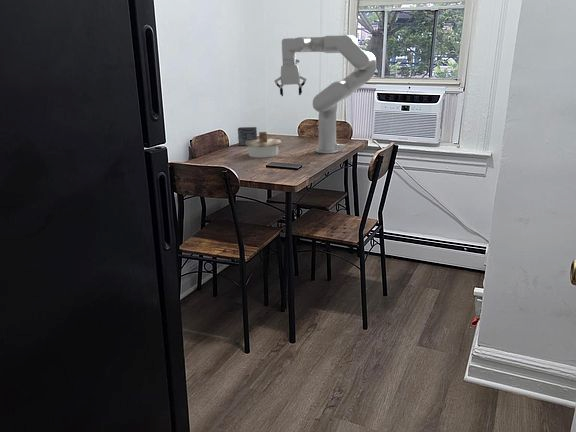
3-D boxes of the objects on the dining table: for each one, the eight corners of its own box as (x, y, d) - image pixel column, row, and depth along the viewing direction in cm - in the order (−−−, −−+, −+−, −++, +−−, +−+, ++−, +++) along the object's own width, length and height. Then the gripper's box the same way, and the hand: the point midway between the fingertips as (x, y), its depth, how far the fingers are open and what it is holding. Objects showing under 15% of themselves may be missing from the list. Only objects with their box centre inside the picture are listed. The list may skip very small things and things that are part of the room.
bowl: (277, 151, 285) (277, 140, 283) (278, 157, 270) (278, 145, 268) (249, 152, 285) (248, 141, 283) (248, 158, 269) (247, 147, 268)
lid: (280, 140, 285) (280, 129, 283) (281, 146, 267) (281, 134, 265) (246, 141, 284) (245, 130, 282) (245, 147, 266) (244, 136, 264)
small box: (257, 144, 310) (256, 126, 307) (256, 146, 304) (255, 128, 301) (240, 144, 311) (239, 126, 308) (238, 146, 305) (237, 128, 302)
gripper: (304, 61, 278) (306, 94, 284) (273, 63, 277) (274, 95, 283) (306, 62, 271) (307, 95, 277) (273, 63, 270) (275, 96, 275)
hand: (291, 95), depth 280 cm, fingers open, 9 cm apart
